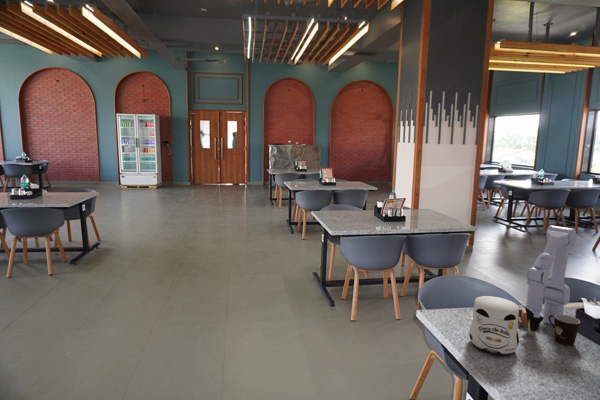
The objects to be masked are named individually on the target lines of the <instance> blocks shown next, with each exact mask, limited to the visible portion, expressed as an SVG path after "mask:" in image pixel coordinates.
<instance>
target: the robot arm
mask: <svg viewBox="0 0 600 400" xmlns="http://www.w3.org/2000/svg"><path fill="white" fill-rule="evenodd" d="M545 234H546V240H547V241H546V242H547V243H546V245H545V247H544V250H543V252H542V253H539V255H538V256H537V258H536V260H535V262H534V264H533V266H532V267H529V268H528V270H527V272H526V280H527V282H526V284H527V286H528V287H527V293H526V294H527V296H526V303H523V304H522V307H523V308H524V309H525V310H526V314H527V322H528V323H529V321H530V330H531V331H534V332H535V333H536V332H538V330H537V329H538V327H539V324H540V325H541V323H542V322H543V323H544V324H549V325H551V323H550V322H549V316H550V315H554V316H555V315H558V314H562V315H564V310H565V306H567V305H568V304H569V302H570V301H571V299H570V298H571V289H570V287H569V286H568V285H567V284H566V283H565V277H566V271H567V264H568V259H569V254H570V253H569V251H570V248H572V247H573V248H574V247H575V245H576V242H577V241H576V240H577V231H576V229H575V228H574V227H572V228H570V227H566V226H565V227H563V226H557V225H552V224H551V225H549V226H547V229H546V233H545ZM553 257H554V258H553ZM551 268H552V271H551V279H550V280H549V276H550V270H551ZM541 312H542V313H541ZM550 320H551V322H552V324H553V325H554V326H555V324H554V317H551V318H550Z"/></svg>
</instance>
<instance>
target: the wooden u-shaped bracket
mask: <svg viewBox="0 0 600 400" xmlns="http://www.w3.org/2000/svg"><path fill="white" fill-rule="evenodd" d="M521 312H522V308H521V309H520V308H519V315H518V325H517V326H518V328H522V327H523V326H522V320H521ZM540 330H541V323H540V324H539V327H538V329H537V332H540Z"/></svg>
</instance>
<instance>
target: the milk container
mask: <svg viewBox="0 0 600 400" xmlns="http://www.w3.org/2000/svg"><path fill="white" fill-rule="evenodd" d="M473 303H474V304H473V312H472V313H473V315H472V320H471V321H472V322H471V323H470V325H469V326H470V327H469V332H468V334H469V339H470V342H471V344H473V345H474V346H475V347H476V348H478V349H479V350H481V351H484V352H486V353H489V354H494V355H500V356H501V355H503V356H505V355H510V354H513V353H515V352H516V351H517V350H518V348H519V342H520V338H519V337H520V336H519V332H518V326H519V325H518V315H519V309H520V308H519V306H518V304H517V303H515V302H514V301H512V300H509V299H506V298H503V297H499V296H493V295H492V296H491V295H490V296H489V295H482V296H478V297H476V298H475V299H474V302H473Z"/></svg>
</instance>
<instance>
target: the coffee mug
mask: <svg viewBox="0 0 600 400" xmlns="http://www.w3.org/2000/svg"><path fill="white" fill-rule="evenodd" d="M551 317H554V324H555V325H554V324H552V322H551V320H550V318H551ZM549 322H550V323H551V324H550V326H552V328H553V329H554V341H555V342H556V343H557V344H559V345H561V346H565V347H573V346H574V345H575V342H576V339H577V335H578V331H579V327H580V324H581V321H580V319H578V318H576V317H574V316H571V315H568V314H563V315H562V314H558V315H555V316H554V315H550V316H549Z"/></svg>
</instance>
